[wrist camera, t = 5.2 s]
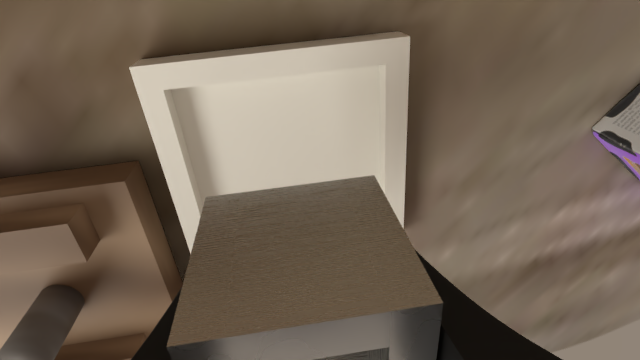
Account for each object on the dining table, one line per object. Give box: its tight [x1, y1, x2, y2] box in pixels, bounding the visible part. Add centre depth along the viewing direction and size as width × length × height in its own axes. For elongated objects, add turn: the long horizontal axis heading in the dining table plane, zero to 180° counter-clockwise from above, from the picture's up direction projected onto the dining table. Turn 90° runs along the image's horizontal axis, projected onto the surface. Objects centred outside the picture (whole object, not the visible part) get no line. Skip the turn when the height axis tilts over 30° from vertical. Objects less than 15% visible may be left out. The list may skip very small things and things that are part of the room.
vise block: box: [0, 161, 183, 360], centre depth 18 cm, size 13×10×6 cm
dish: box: [129, 31, 410, 254], centre depth 18 cm, size 11×11×2 cm
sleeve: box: [167, 175, 443, 360], centre depth 10 cm, size 5×5×5 cm
